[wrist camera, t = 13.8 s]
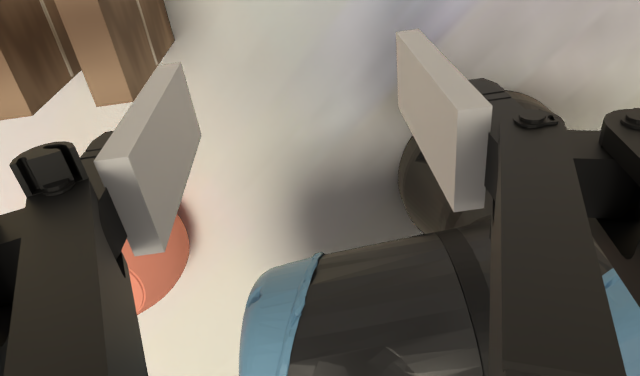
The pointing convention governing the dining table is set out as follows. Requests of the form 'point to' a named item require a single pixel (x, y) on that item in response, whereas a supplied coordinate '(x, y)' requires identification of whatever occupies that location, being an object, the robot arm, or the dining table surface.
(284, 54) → the dining table surface
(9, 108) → the domino
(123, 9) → the domino
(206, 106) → the dining table surface
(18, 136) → the dining table surface
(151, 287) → the sugar bowl
